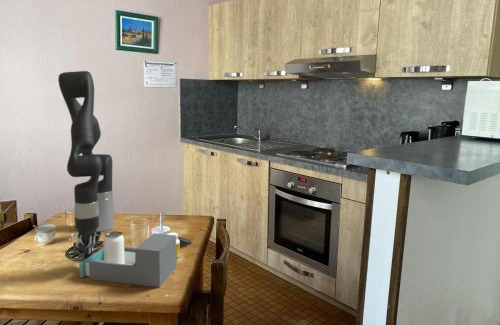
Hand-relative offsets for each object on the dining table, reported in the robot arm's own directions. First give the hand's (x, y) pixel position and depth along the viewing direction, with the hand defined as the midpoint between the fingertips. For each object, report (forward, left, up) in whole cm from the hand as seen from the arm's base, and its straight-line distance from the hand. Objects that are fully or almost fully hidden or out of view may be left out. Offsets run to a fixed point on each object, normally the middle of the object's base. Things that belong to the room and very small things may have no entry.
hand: (88, 262), depth 134 cm
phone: (-30, +19, -3) cm, 36 cm away
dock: (0, +17, -2) cm, 17 cm away
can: (0, +10, -1) cm, 10 cm away
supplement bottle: (-14, +25, -2) cm, 28 cm away
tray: (0, +10, -2) cm, 11 cm away
